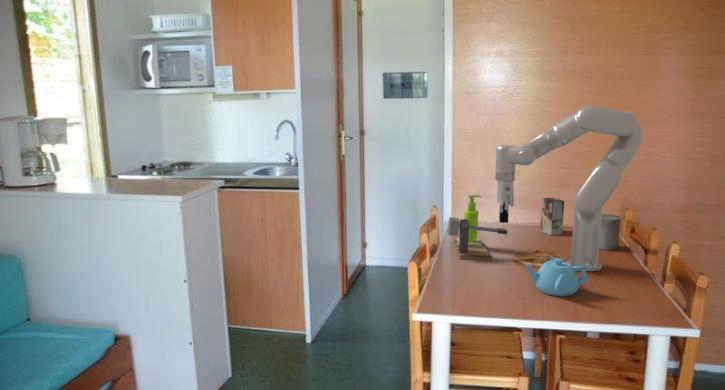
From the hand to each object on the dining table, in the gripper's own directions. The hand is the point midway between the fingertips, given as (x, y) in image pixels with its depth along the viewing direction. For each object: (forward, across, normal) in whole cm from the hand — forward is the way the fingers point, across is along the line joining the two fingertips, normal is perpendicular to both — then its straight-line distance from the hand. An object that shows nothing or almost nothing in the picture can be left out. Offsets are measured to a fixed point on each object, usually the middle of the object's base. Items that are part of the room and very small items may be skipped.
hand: (503, 222), depth 214 cm
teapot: (+15, -37, -10) cm, 41 cm away
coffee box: (+15, +40, -30) cm, 53 cm away
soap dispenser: (+12, +13, +11) cm, 20 cm away
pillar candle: (+15, +16, -47) cm, 52 cm away
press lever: (+6, 0, +11) cm, 12 cm away
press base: (+14, +7, +12) cm, 20 cm away
